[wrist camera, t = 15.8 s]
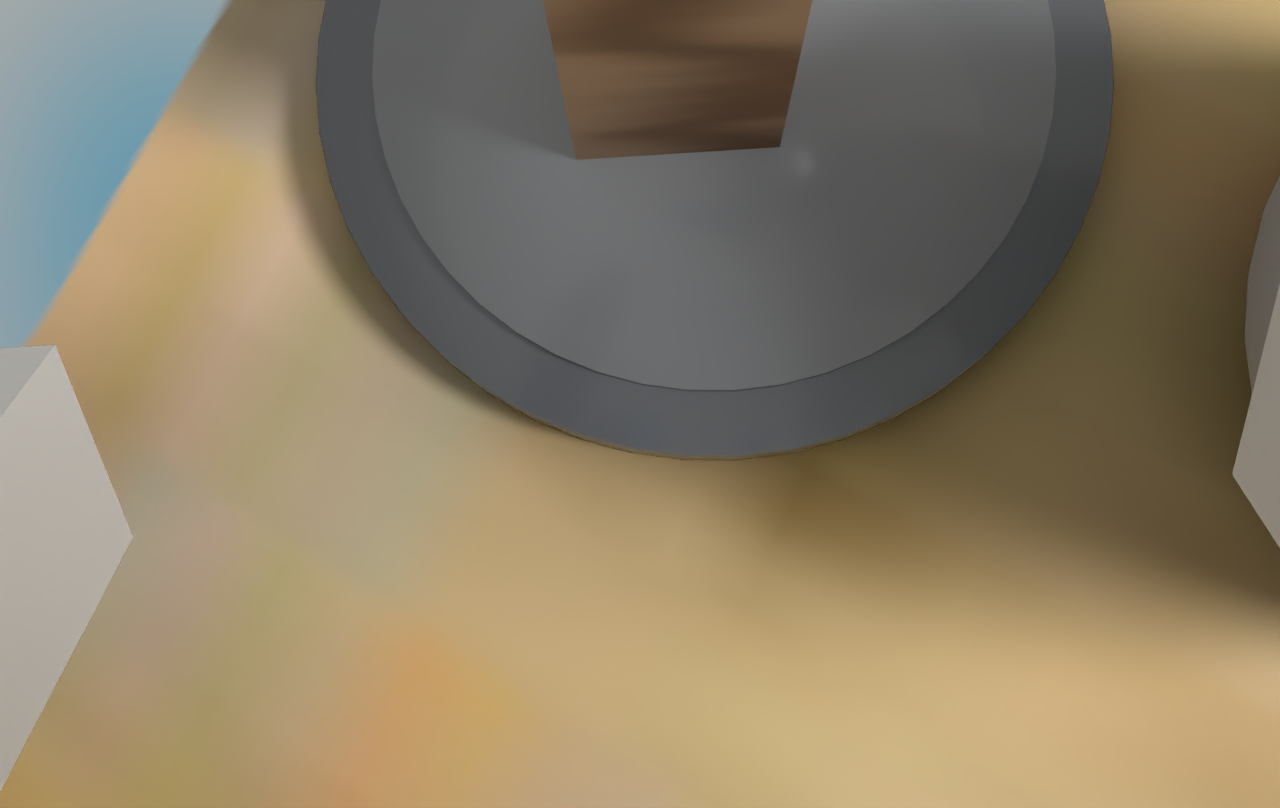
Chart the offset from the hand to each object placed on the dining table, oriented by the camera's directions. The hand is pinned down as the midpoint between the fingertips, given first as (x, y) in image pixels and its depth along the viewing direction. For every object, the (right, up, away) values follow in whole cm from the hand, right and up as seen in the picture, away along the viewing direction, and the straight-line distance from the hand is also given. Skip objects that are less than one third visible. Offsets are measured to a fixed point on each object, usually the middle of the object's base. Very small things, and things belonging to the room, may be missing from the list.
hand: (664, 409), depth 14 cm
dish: (+2, +9, +18) cm, 20 cm away
